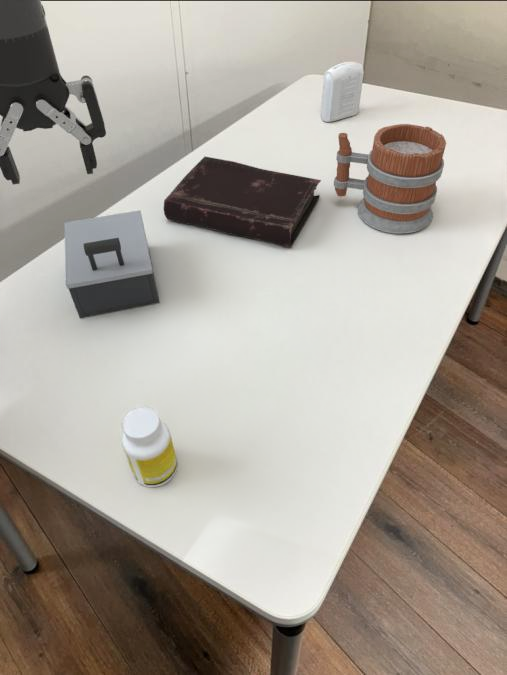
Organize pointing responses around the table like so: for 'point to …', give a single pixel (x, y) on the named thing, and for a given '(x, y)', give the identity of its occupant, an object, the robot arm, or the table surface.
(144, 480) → the supplement bottle
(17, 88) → the robot arm
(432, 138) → the mug
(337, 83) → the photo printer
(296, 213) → the diary
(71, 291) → the dark grey open box
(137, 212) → the lid
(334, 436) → the table surface
